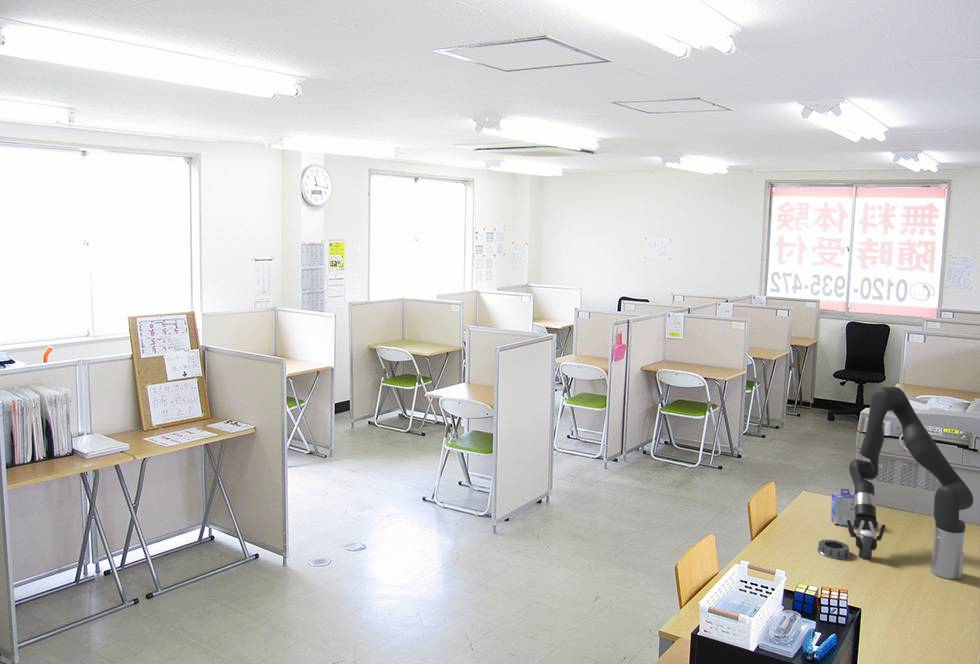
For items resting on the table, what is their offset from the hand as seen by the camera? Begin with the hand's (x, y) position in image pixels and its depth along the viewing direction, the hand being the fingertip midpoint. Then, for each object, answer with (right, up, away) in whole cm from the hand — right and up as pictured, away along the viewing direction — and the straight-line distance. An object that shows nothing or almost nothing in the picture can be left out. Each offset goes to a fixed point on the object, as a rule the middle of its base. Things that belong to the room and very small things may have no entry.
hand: (866, 548), depth 292 cm
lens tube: (+1, -4, +2) cm, 5 cm away
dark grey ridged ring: (-10, -3, +6) cm, 12 cm away
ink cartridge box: (+8, 0, +37) cm, 37 cm away
